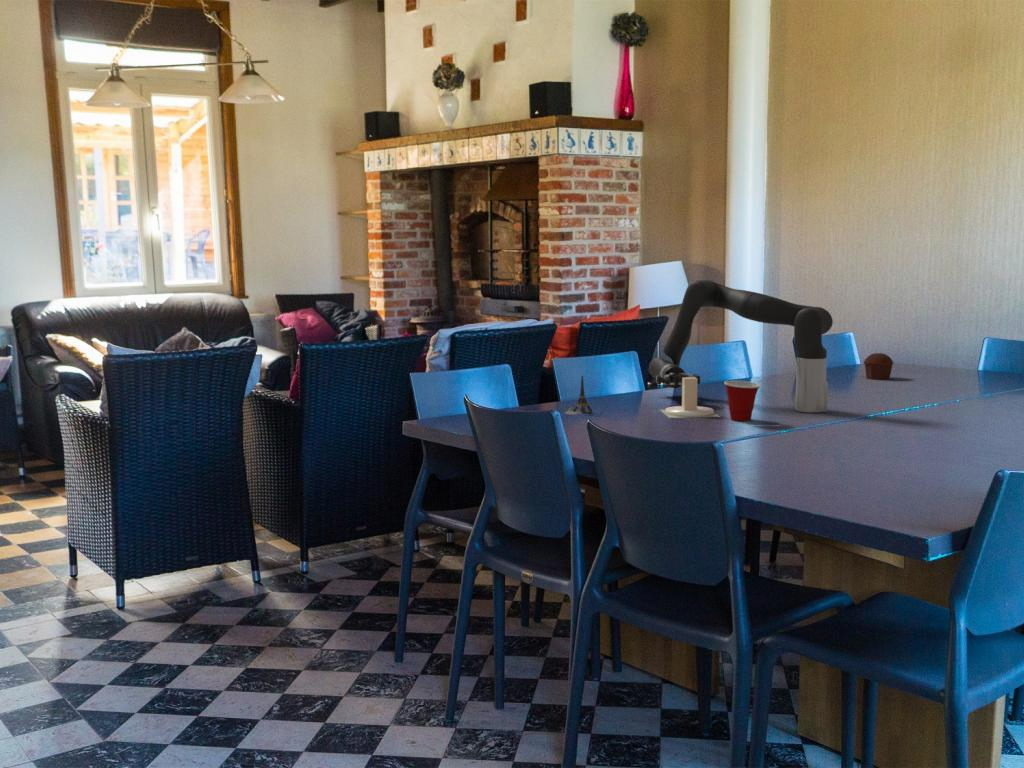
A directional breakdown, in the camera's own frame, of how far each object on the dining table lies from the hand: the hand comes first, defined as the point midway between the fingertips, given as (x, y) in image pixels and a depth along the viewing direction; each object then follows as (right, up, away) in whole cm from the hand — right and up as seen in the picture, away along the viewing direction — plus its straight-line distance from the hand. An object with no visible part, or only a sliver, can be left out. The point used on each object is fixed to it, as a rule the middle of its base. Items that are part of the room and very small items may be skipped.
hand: (681, 382), depth 336 cm
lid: (+1, -10, -10) cm, 14 cm away
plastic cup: (+14, -12, -23) cm, 30 cm away
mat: (+1, -10, -10) cm, 14 cm away
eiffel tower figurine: (-33, -10, -1) cm, 35 cm away
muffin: (+91, +1, +75) cm, 117 cm away
